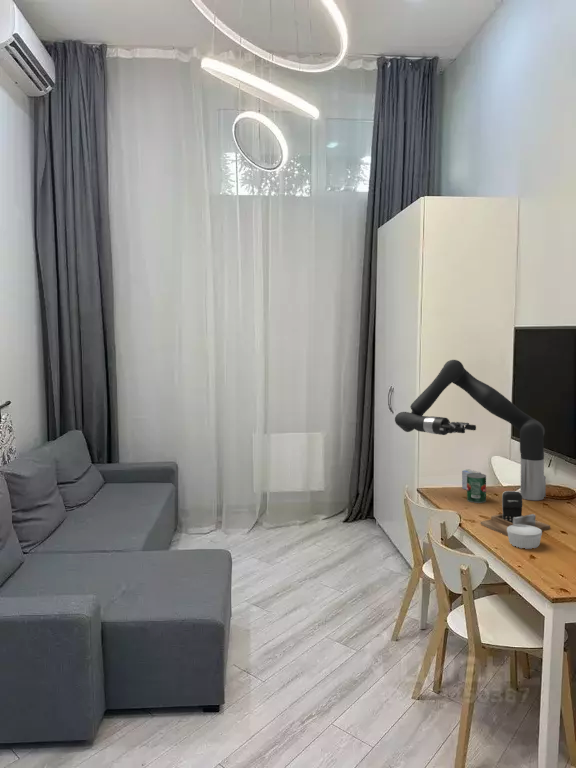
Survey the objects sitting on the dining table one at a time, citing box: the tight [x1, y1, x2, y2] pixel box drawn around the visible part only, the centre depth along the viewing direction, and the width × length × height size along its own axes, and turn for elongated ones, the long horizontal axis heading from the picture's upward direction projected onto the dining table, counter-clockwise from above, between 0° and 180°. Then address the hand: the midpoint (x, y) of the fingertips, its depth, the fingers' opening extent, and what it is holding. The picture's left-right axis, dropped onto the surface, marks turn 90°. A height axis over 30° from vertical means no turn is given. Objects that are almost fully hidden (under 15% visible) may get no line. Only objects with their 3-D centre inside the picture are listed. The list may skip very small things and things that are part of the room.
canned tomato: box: [466, 473, 487, 504], centre depth 251 cm, size 8×8×11 cm
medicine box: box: [461, 469, 482, 491], centre depth 267 cm, size 8×4×9 cm, turn 27°
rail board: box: [480, 513, 551, 537], centre depth 217 cm, size 19×15×5 cm
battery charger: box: [501, 490, 523, 523], centre depth 217 cm, size 7×4×11 cm, turn 75°
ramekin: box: [507, 525, 543, 550], centre depth 199 cm, size 11×11×5 cm
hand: (470, 429), depth 242 cm, fingers open, 8 cm apart
